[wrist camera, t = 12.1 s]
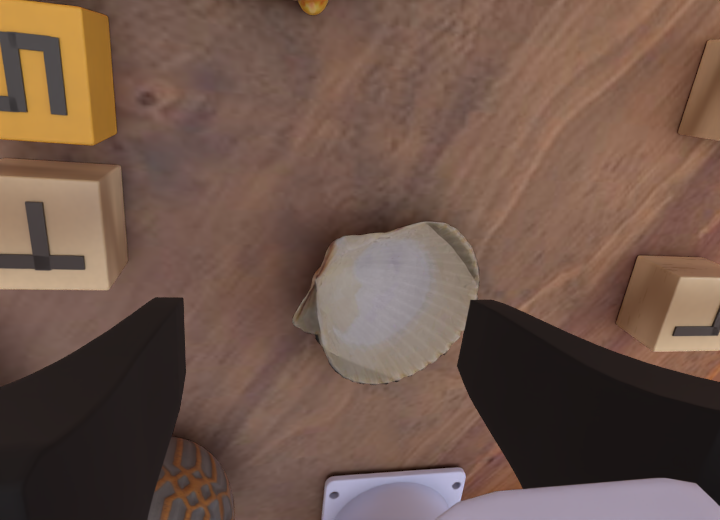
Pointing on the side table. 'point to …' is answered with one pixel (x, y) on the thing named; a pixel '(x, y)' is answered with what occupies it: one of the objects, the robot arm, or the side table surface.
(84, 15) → the yellow number block
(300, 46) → the side table surface
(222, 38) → the side table surface
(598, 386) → the robot arm
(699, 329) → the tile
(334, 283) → the seashell
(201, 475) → the vase
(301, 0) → the mug
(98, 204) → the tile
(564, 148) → the side table surface
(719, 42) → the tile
